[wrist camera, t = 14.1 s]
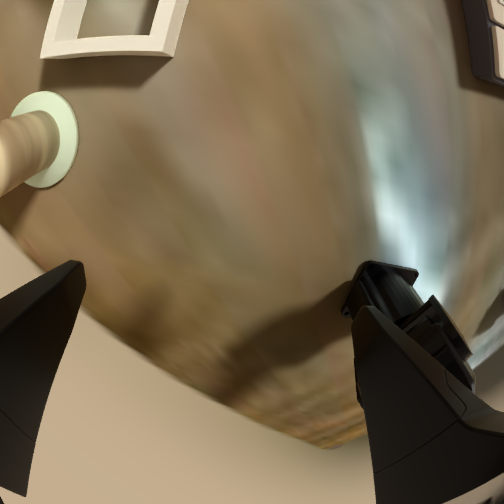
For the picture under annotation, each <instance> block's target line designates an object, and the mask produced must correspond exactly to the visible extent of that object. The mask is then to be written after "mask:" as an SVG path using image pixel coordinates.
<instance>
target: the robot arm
mask: <svg viewBox="0 0 504 504" xmlns="http://www.w3.org/2000/svg"><path fill="white" fill-rule="evenodd" d="M371 265H372V266H371ZM369 266H371V267H369ZM413 274H414V275H413ZM418 275H419V273H418V271H417V270H416V269H412V268H407V267H402V266H397V265H392V264H387V263H382V262H376V261H368V262H366V263H365V265H364V267H363V269H362V271H361V273H360V275H359V277H358V279H357V281H356V282H355V284H354V286H353V288H352V290H351V292H350V294H349V296H348V298H347V300H346V302H345V304H344V306H343V308H342V310H341V314H342V316H343V317H351V318H352V319H353V323H352V326H351V331H352V339H353V348H354V357H355V358H354V367H355V380H356V392H357V400H358V402H359V403H360V406H361V407H362V408H363V410H364V413H365V419H366V425H367V432H368V438H369V445H370V452H371V459H372V467H373V473H374V475H373V476H374V485H375V495H376V504H504V412H500V411H497V410H495V409H493V408H491V407H490V406H489V405H487V404H486V403H485V402H484V401H483V400H482V399H480V398H479V397H478V396H477V395H475V374H474V372H473V371H472V369H471V367H470V365H469V364H468V362H467V359H468V358H469V357H471V356H472V355H473V354H472V352H471V350H470V348H469V346H468V344H467V343H466V341H465V339H464V337H463V335H462V334H461V332H460V331H459V329H458V328H457V326H456V325H455V323H454V322H453V320H452V319H451V317H450V316H449V314H448V313H447V312H446V310H445V309H444V308H443V307H442V305H441V304H440V303H439V301H438V300H437V299H436V298H435V296H434V295H432V296H431V297H430V298H429V300H428V301H427V302H426V303H425V304H424V303H423V301H422V300H421V298H420V297H419V295H418V294H417V292H416V291H415V289H414V288H413V287H412V286H413V284H414V282H415V281H416V279H417V277H418ZM85 290H86V278H85V272H84V266H83V263H82V262H80V261H75V260H69V261H67V262H65V263H63V264H62V265H60V266H58V267H56V268H54V269H52V270H50V271H48V272H47V273H45V274H43V275H41V276H39V277H38V278H36V279H34V280H32V281H30V282H28V283H27V284H25V285H23V286H21V287H20V288H18V289H17V290H14V291H13V292H11V293H10V294H8V295H6V296H5V297H3V298H1V299H0V486H1V487H3V488H5V489H7V490H9V491H12V492H14V493H16V494H19V495H21V496H24V497H26V494H27V488H28V481H29V474H30V469H31V463H32V458H33V453H34V448H35V444H36V443H35V442H36V439H37V435H38V431H39V427H40V423H41V419H42V416H43V412H44V409H45V405H46V402H47V399H48V395H49V392H50V389H51V386H52V383H53V380H54V377H55V374H56V372H57V369H58V366H59V363H60V361H61V358H62V355H63V353H64V350H65V347H66V345H67V343H68V340H69V338H70V335H71V333H72V330H73V327H74V324H75V320H76V317H77V314H78V311H79V308H80V305H81V302H82V299H83V296H84V293H85ZM0 504H4V503H3V501H2V499H1V497H0Z"/></svg>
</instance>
